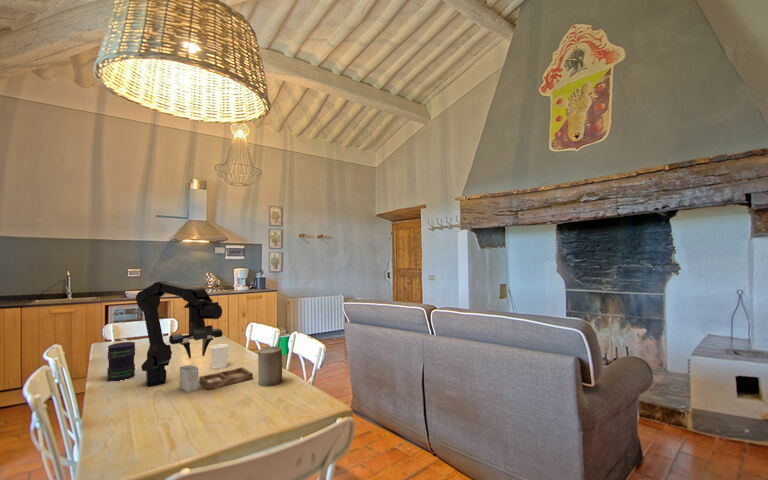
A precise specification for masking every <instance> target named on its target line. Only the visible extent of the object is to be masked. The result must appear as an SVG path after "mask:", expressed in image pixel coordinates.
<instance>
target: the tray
mask: <svg viewBox="0 0 768 480" xmlns="http://www.w3.org/2000/svg"><path fill="white" fill-rule="evenodd" d="M253 379H254V377H253V373H252V372H251V371H249V370H248V369H246V368H245V367H239V368H238V367H237V368H234V369H230V370H229V369H228V370H225V371H219V372H215V373H211V374H205V375H202V376H198V381H199V384H200V385H201V386H203V387H204V389H206V390H207V391H210V390H215V389H217V388H223V387H227V386H231V385H234V384H240V383H241V382H242V383H243V382H247V381H251V380H253Z"/></svg>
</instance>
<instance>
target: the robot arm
mask: <svg viewBox="0 0 768 480" xmlns="http://www.w3.org/2000/svg"><path fill="white" fill-rule="evenodd" d="M165 293H166V294H169V295H174V296H176V297H180V298H182V300H183V301H185V302H187V303H186V304H185V305H184V306H183V309H188V321H187V322H188V323H187V324H188V334H184V335H183V334H181V333H176V334H170V335H169V336H168V342H169V344H166V343H165V342H164V337H163V331H162V326H161V320H160V316H159V311H158V309H159V307H160V304H161V298H162V297H163V296H164V295H165ZM135 300H136V304H137V307H138V308H139V309H140V310H141V311H142V312H143V316H144V320H145V322H144V323H145V326H146V332H147V333H146V334H147V336H148V342H149V343H148V344H149V346H148V350H147V352H146V360H145V361H144V362H143V363H142V364H141V371H142V372H146V373H145V376H146V378H145V382H144V383H145V385H146V386H147V387H151V386H156V385H162V384H165V383H167V382H166V380H167V370H166V366H169V364H170V360H171V359H172V354H173V352H172V347H171V345H177V344H180V345H181V346H183V348H184V350H185V351H186V354H187V357H188V359H191V357H192V354H191V342H190V341H189V340H194V341H199V340H202V342H201V343H202V345H201V346H202V347H201V355H202V357H205V355H206V352H207V349H208V347H209V344H210V342H211V341H214V339H216V338H220V337H221V338H222V337H223V330H222V329H220V328H218V327H217V328H213V325H211V324H210V325H206V321H205V320H219V319H220V318H221V317H222V315H223V309H222V306H221V305H220V304H219V302H218V301H214V302H213V300H212V298H211V297H210V296H209V294H208V292H207V289H206V288H205V287H193V286H192V287H188V286H184V285H179V284H176V283H172V282H168V281H166V280H162V281H156V282H154V283H153V284H152V285H150V286H147V287H146V288H144V289H142V290H140V291H138V292H137V294H136V296H135Z"/></svg>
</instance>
